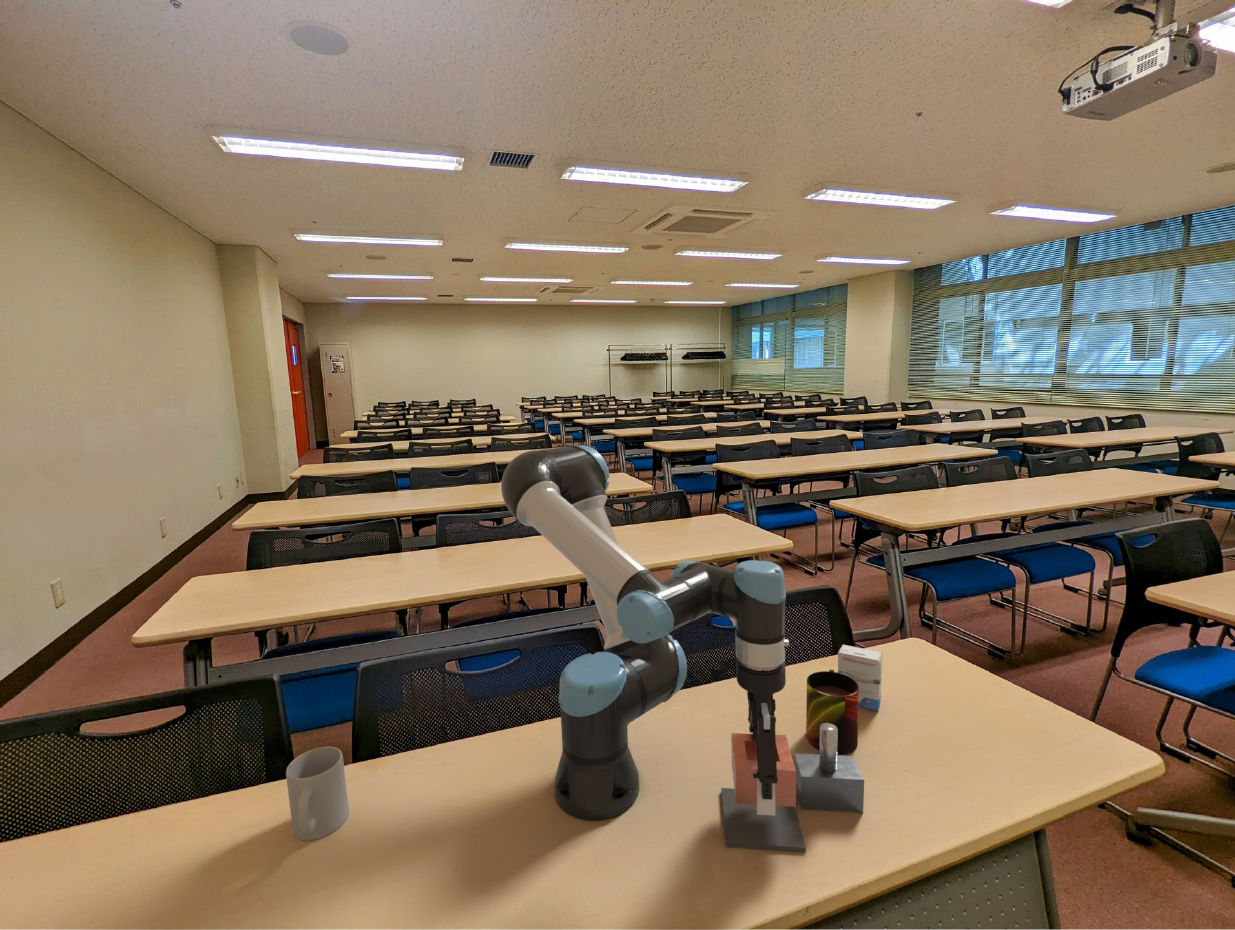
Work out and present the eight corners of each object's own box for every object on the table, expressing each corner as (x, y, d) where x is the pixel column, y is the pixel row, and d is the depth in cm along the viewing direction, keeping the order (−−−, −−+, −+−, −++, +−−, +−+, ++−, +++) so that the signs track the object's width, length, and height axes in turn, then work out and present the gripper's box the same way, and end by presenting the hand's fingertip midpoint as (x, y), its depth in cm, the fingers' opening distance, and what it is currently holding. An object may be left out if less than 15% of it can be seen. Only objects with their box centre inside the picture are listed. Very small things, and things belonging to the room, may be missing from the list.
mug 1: (302, 808, 99) (295, 750, 98) (354, 799, 101) (348, 742, 99) (277, 863, 87) (268, 799, 86) (336, 852, 89) (329, 789, 88)
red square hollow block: (736, 803, 88) (735, 768, 87) (731, 765, 97) (731, 733, 96) (795, 806, 87) (795, 770, 86) (785, 768, 95) (785, 735, 95)
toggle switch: (800, 809, 95) (801, 737, 93) (794, 784, 101) (794, 716, 99) (863, 812, 93) (865, 740, 92) (852, 787, 99) (854, 718, 98)
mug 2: (832, 711, 122) (833, 659, 121) (867, 752, 109) (869, 694, 107) (789, 716, 121) (789, 663, 120) (819, 757, 108) (820, 699, 106)
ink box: (881, 701, 126) (883, 651, 124) (878, 712, 121) (879, 661, 120) (840, 691, 130) (842, 643, 128) (836, 701, 126) (837, 652, 124)
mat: (725, 847, 88) (725, 842, 87) (721, 792, 99) (721, 787, 99) (805, 852, 86) (805, 847, 86) (791, 796, 98) (791, 791, 98)
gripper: (798, 698, 78) (798, 845, 81) (774, 631, 99) (775, 749, 102) (742, 696, 79) (745, 842, 82) (731, 630, 100) (733, 748, 103)
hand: (762, 791), depth 92 cm, fingers closed on red square hollow block, 9 cm apart
